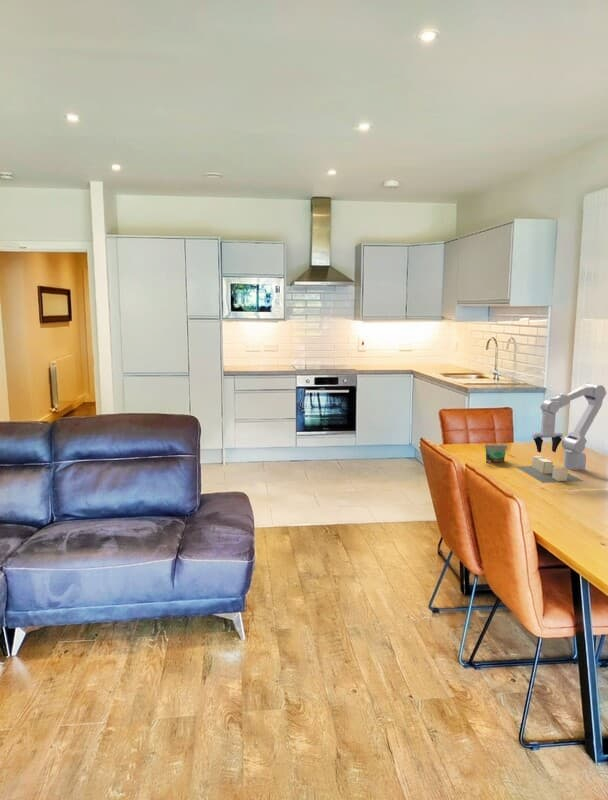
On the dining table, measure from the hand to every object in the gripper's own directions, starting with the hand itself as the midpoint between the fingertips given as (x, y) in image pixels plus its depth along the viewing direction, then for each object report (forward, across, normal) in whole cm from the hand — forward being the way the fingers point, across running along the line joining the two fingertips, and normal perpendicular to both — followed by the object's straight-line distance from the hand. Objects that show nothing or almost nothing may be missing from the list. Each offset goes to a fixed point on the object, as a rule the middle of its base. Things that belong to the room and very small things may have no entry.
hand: (546, 451), depth 270 cm
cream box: (+9, -2, 0) cm, 9 cm away
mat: (+10, -2, -6) cm, 12 cm away
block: (+9, -2, -16) cm, 18 cm away
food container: (+10, -17, +16) cm, 25 cm away
